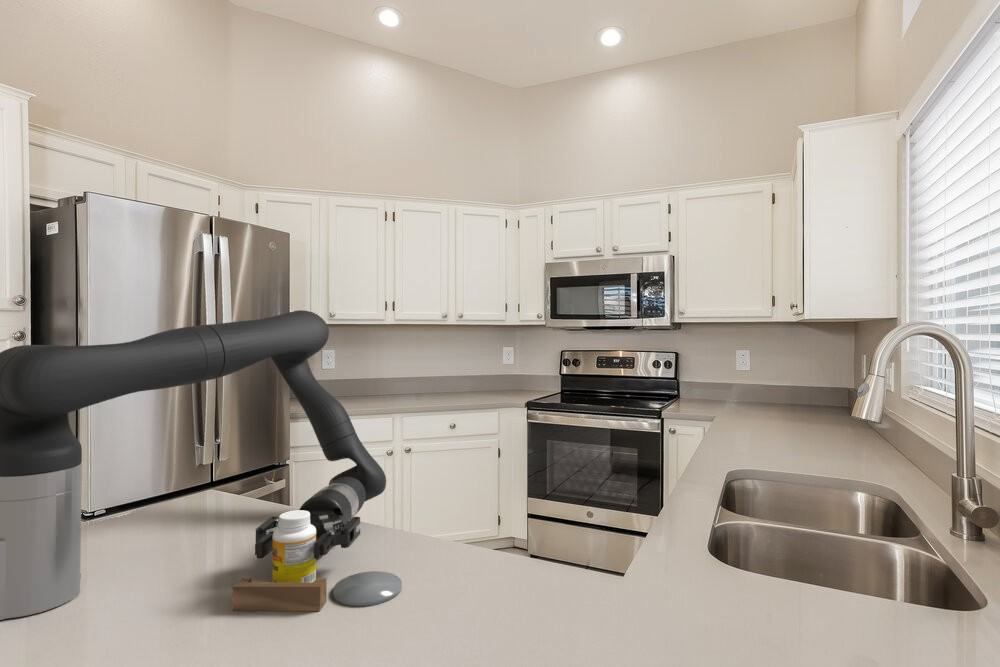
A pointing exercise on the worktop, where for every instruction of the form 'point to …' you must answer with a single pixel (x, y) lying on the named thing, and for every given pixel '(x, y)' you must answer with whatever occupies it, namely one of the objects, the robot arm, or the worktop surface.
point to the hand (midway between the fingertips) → (288, 551)
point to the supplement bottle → (294, 548)
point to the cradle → (279, 595)
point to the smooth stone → (367, 588)
